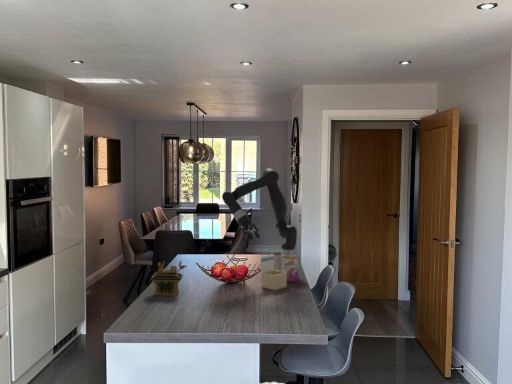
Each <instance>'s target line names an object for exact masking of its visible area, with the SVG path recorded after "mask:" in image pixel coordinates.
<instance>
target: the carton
mask: <svg viewBox="0 0 512 384" xmlns="http://www.w3.org/2000/svg"><path fill="white" fill-rule="evenodd" d="M287 283H288V281H287V272H282V271H281V270H276V269H274V270H270V271H266V272H262V273H261V288H262V289H265V290H270V291H278V290H281V289H284V288H287Z"/></svg>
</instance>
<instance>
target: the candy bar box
mask: <svg viewBox="0 0 512 384" xmlns="http://www.w3.org/2000/svg"><path fill="white" fill-rule="evenodd" d="M299 264H300V256H299V255H296V254H295V255H282V264H281V263H280V271H282V272H287V282H290V283H291V282H293V283H298V282H299V271H300V270H299Z"/></svg>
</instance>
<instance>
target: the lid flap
mask: <svg viewBox="0 0 512 384" xmlns="http://www.w3.org/2000/svg"><path fill="white" fill-rule="evenodd" d="M274 258H275V254H274V253H271V254H267V255H265V254H264V255H261V256H260V273H261V274H262V273H263V272H267V271H271V270H275V269H274V268H275V259H274Z"/></svg>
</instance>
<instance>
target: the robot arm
mask: <svg viewBox="0 0 512 384" xmlns="http://www.w3.org/2000/svg"><path fill="white" fill-rule="evenodd" d="M279 177H280V175H279V173H278V172H277V171H276V170H275V169H273V168H271V167H267V168H265V169H264V170H263V172H262V176H261V177H260V178H257V179H255V180H251V181H248V182H245V183H243V184H241V185H239V186H237V187H235V189H234V190H233V191H229V190H226V191H224V192H222V195H221V198H222V201H223V203H224V204H226V206H227V207H228V209H229V211H230V213H231V214H232V216H233V217H234V220H236V223H237V224H238V225H239V228H240V230H241V231H242V233H243V234H244V236H245V235H246V236H247V237H248V238H249V239H250V241H251V240H254V236H255V238H256V239H260V238H261V235H260V234H259V232H258V231H259V229H258V228H257V226H256V225H255V224H254V223H251V218H249V216H248V214H247V213H246V211H245V210H244V209H243V208H242V207H241V205H240V204H239V202H238V200H240V198H242V197H245V196H247V195H248V194H250V193H252V192H254V191H257V190H259V189H261V188H264V187H267V192H268V195H269V198H270V202H271V206H272V209H273V212H274V215H275V219H276V223H277V227H278V232H279V235H280V237H281V238H282V239H285V243H281V249H280V250H281V251H280V253H281V254H280V265H281V264H282V255H296V251H295V250H296V245H297V238H298V235H297V234H298V231H297V228H296V226H294V225H290V224H288V223H287V221H286V220H287V219H286V213H287V212H288V211H287V210H288V205H287V204H286V200H285V197H284V195H283V193H282V191H281V189H280V187H279V184H278V181H279V179H280V178H279ZM252 234H254V236H253V235H252Z"/></svg>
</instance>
